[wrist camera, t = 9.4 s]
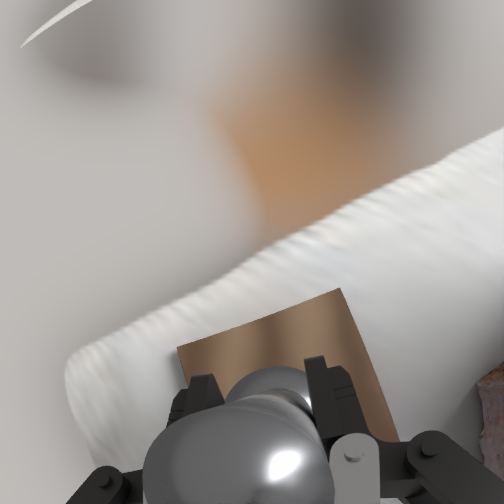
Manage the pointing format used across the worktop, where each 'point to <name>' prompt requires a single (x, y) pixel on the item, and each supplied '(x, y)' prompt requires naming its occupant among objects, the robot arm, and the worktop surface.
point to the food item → (493, 420)
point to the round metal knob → (244, 448)
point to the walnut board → (295, 352)
